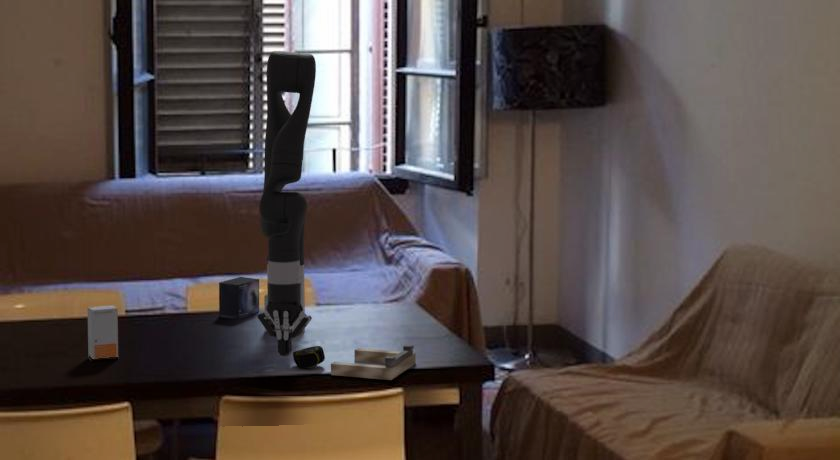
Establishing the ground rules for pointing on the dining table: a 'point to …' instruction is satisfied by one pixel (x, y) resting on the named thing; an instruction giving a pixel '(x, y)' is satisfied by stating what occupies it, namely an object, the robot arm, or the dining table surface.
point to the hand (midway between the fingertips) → (285, 355)
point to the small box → (238, 297)
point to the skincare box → (102, 332)
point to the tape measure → (309, 357)
